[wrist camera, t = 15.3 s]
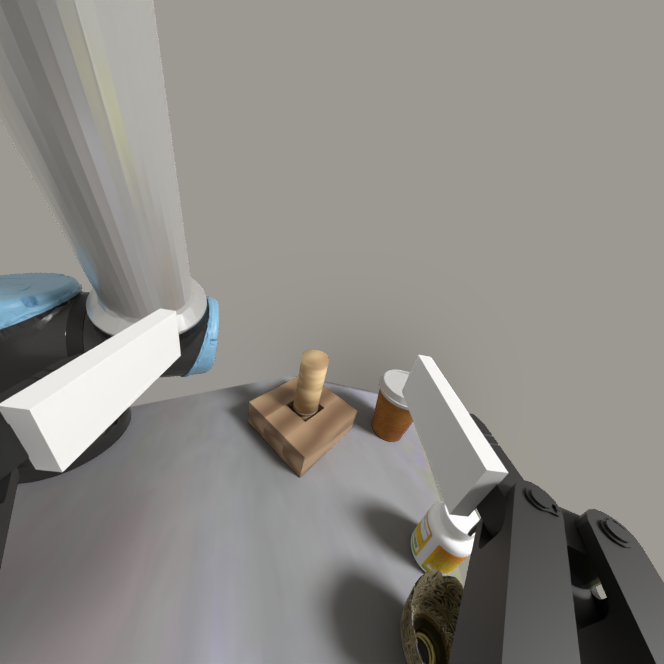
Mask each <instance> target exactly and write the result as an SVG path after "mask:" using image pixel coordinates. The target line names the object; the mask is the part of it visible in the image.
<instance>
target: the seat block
mask: <svg viewBox="0 0 664 664" xmlns="http://www.w3.org/2000/svg"><path fill="white" fill-rule="evenodd" d="M297 382H298V377H296V378H294V379H292V380H290V381H288V382H287V383H285V384H283V385H281V386H279V387H277V388H275V389H273V390H271V391H269V392H267V393H265V394H263V395H261V396H259V397H257V398H255V399H254V400H252V401H250V402H249V414H248V422H249V423H250V424H251V425H252V427H253V428H254V429H255V430H256V431H257V432H258V433H259V434H260V435H261V436H262V437H263V438H264V440H265V441H266V442H267V443H268V444H269V445H270V446H271V447H272V448H273V449H274V450H275V451H276V453H277V454H278V455H279V456H280V457H281V458H282V459H283V460H284V461H285V462H286V463H287V464H288V466H289V467H290V468H291V469H292V470H293V471H294V472H295V473H296V474H297V475H298V476H299V477H301V476H302V475H303V474H304V473H306V472H307V471H308V470H309V469H310V468H311V467H312V466H313V465H314V464H315V463H316V462H317V461H318V460H319V459H320V458H321V457H322V456H323V455H324V454H325V453H326V452H327V451H329V450H330V449H331V448H332V447H333V446H334V445H335V444H336V443H337V442H338V441H339V440H340V439H341V438H342V437H343V436H344V435H345V434H346V433H347V432H348V431H349V430H351V428H352V425H353V422H354V419H355V417H356V414H357V410H356V409H354V408H353V407H352V406H350V405H349V404H348V403H346V402H345V401H344V400H342V399H341V398H340V397H338V396H337V395H336V394H334V393H333V392H332V391H330V390H329V389H328V388H326V387H325V386H323V388H322V392H321V396H320V401H319V407H318V411H317V412H316V413H315V414H314V415H313V417H312V418H310V419H309V420H308V421H306V422H305V421H303V420H302V419H301V418H300V417H299V416H298V415H297V414H296V413H295V411H294V409H293V402H294V400H295V394H296V388H297Z"/></svg>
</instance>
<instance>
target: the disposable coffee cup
mask: <svg viewBox="0 0 664 664" xmlns="http://www.w3.org/2000/svg"><path fill="white" fill-rule="evenodd" d="M409 374H410V373H409V372H406V371H402V370H390V371H388V372H386V373H385V375H383V376H382V377H381V378H380V381H379V385H380V390H379V394H378V395H379V396H378V399H377V403H376V408H375V412H374V417H373V421H372V427H373V430H374V432H375V433H376V434H377V435H378V436H379V437H380V438H382V439H384V440H386V441H389V442H395V441H398V440H399V439H400V438H401V437H402V435H403V434H404V433H405V432H406V430H407V429H408V428H409V426H410V425H411V423H412V422H413V419H412V417H411V414H410V412H409V409H408V406H407V404H406V401H405V399H404V396H403V393H402V389H403V387H404V385H405V383H406V381H407V378H408V376H409Z"/></svg>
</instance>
